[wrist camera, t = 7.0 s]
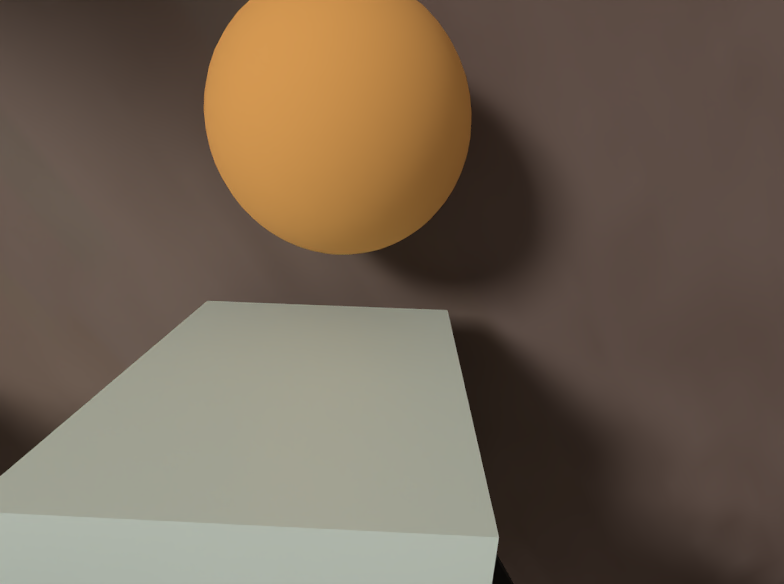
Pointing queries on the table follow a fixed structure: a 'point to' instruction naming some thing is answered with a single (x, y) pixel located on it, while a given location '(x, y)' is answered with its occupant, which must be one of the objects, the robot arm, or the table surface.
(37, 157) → the table surface
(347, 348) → the mint green block
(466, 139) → the ball
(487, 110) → the table surface
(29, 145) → the table surface
